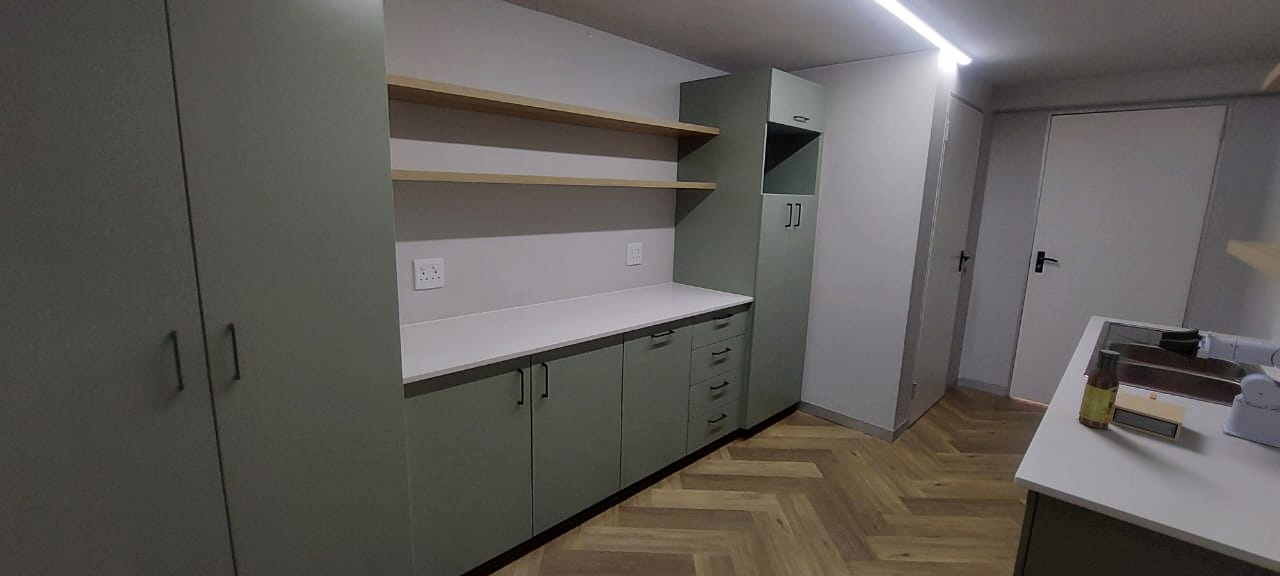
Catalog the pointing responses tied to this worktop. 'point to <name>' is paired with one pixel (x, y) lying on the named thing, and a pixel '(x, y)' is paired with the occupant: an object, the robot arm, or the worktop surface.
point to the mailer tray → (1145, 421)
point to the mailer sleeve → (1150, 412)
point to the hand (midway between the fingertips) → (1160, 339)
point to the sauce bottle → (1100, 391)
